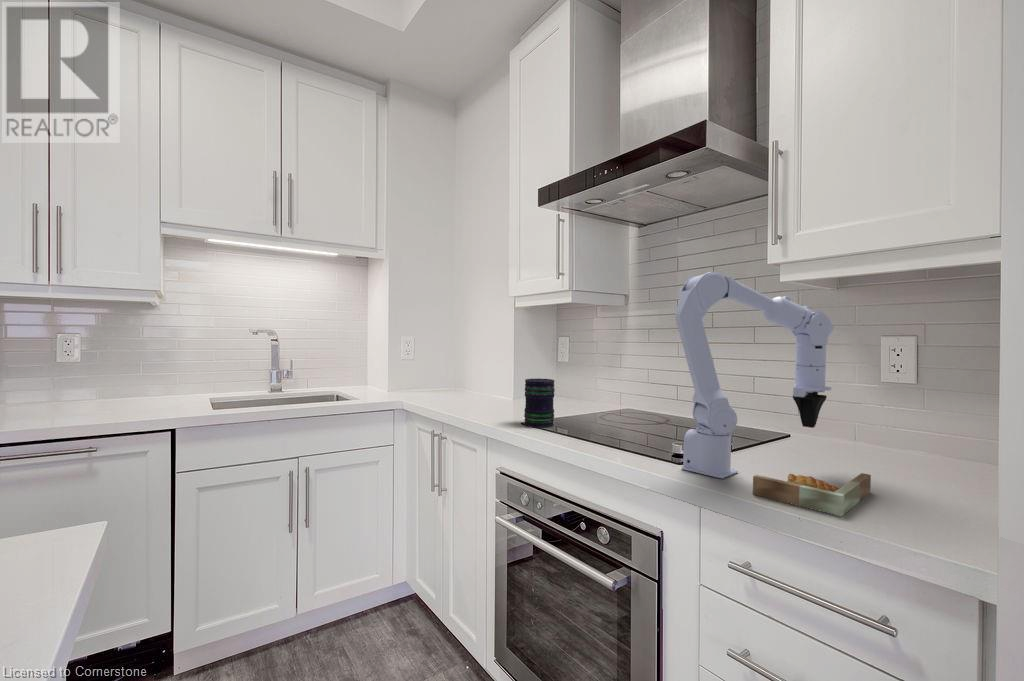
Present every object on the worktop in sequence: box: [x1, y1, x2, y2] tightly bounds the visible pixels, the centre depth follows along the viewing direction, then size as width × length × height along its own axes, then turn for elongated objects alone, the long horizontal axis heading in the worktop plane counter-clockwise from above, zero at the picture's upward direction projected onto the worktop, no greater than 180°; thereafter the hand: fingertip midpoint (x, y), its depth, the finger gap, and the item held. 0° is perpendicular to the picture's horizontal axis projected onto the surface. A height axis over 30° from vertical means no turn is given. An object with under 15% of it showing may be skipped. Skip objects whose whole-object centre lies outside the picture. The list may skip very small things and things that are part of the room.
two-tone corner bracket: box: [752, 472, 872, 517], centre depth 93 cm, size 14×20×4 cm
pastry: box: [787, 473, 840, 492], centre depth 92 cm, size 9×7×4 cm
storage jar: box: [523, 378, 556, 429], centre depth 158 cm, size 10×10×15 cm
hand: (808, 426), depth 107 cm, fingers closed
